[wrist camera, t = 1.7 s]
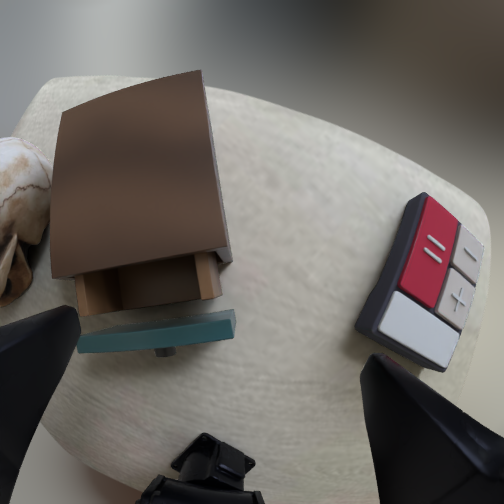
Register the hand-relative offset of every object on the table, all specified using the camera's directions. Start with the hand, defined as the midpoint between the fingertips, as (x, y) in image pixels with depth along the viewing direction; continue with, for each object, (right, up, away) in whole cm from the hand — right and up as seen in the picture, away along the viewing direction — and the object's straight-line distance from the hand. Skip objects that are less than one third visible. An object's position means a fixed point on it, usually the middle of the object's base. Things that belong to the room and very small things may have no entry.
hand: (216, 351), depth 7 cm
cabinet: (-8, +7, +17) cm, 20 cm away
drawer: (-7, +1, +16) cm, 17 cm away
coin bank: (-27, +4, +17) cm, 32 cm away
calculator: (+19, -1, +18) cm, 26 cm away
